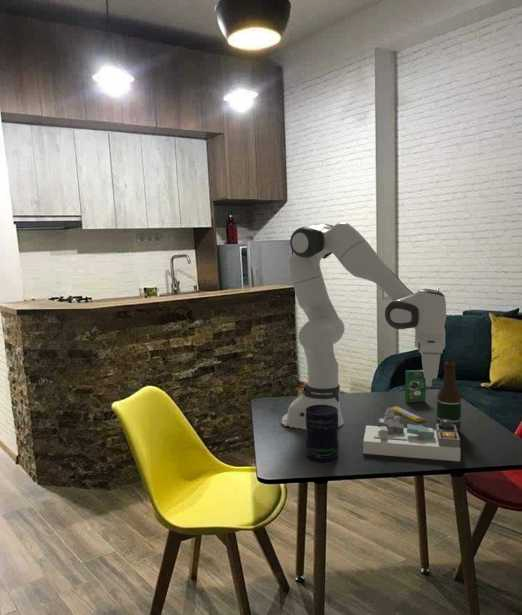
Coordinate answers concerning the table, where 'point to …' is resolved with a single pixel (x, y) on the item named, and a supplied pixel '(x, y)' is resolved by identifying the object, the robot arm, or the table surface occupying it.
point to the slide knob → (383, 432)
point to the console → (412, 444)
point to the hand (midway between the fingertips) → (428, 385)
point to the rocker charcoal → (396, 426)
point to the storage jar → (322, 433)
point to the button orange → (448, 435)
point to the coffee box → (415, 386)
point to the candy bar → (407, 414)
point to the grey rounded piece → (391, 416)
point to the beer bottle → (449, 398)
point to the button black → (446, 424)
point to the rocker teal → (414, 430)
